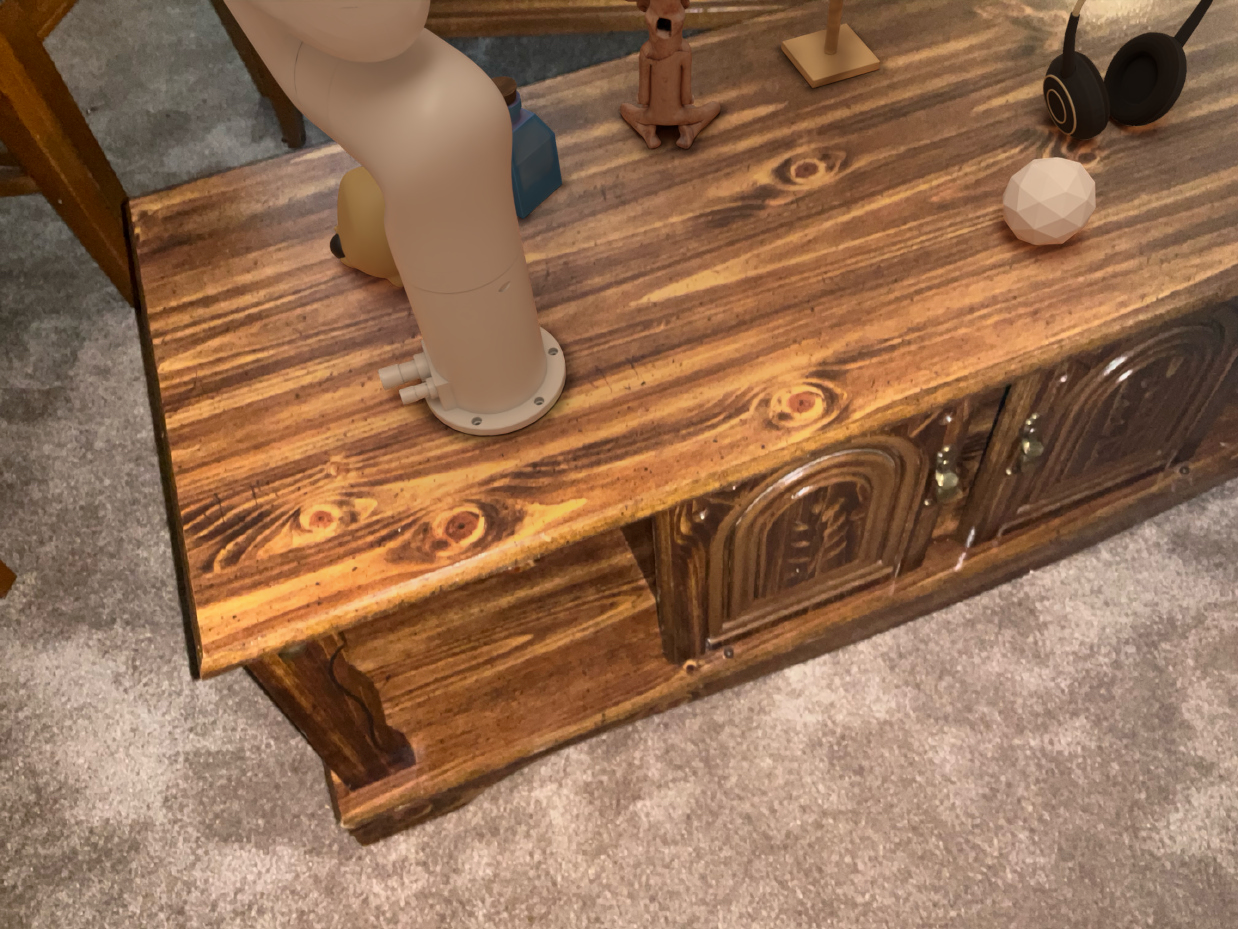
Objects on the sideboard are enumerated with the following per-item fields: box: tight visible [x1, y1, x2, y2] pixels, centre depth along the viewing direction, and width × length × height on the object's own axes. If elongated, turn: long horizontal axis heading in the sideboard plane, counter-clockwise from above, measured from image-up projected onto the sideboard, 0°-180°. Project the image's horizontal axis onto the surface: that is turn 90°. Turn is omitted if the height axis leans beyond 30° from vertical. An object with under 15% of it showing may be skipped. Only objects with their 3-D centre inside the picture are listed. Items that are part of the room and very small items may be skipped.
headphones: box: [1042, 0, 1214, 141], centre depth 89 cm, size 9×15×20 cm, turn 105°
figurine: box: [619, 0, 721, 150], centre depth 94 cm, size 10×8×20 cm
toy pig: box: [329, 165, 404, 288], centre depth 90 cm, size 10×12×11 cm
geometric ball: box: [1002, 156, 1097, 246], centre depth 86 cm, size 8×8×8 cm
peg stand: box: [780, 0, 881, 89], centre depth 102 cm, size 8×8×11 cm
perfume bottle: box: [490, 75, 563, 220], centre depth 93 cm, size 6×6×12 cm
